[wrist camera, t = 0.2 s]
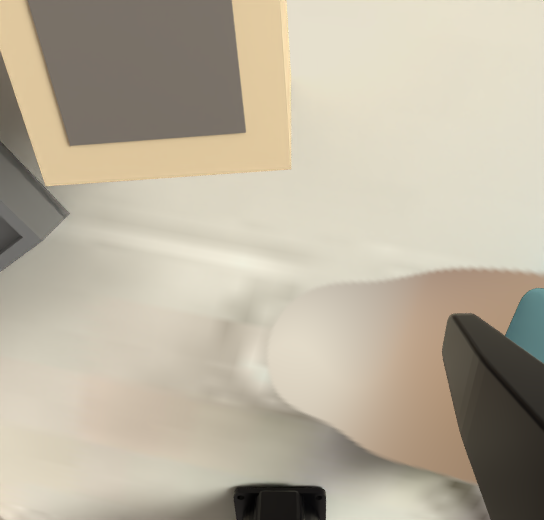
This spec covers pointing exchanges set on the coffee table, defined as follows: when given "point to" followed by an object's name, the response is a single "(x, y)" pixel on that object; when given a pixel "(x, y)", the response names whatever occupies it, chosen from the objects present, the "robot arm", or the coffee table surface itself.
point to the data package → (529, 324)
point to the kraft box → (150, 86)
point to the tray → (23, 210)
